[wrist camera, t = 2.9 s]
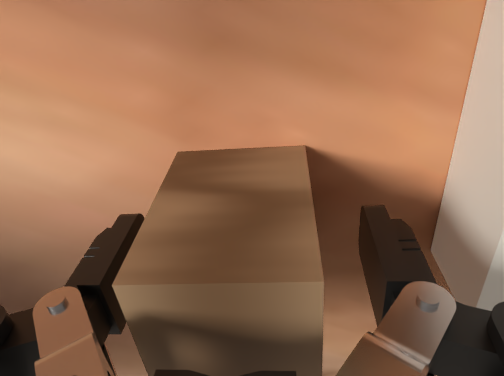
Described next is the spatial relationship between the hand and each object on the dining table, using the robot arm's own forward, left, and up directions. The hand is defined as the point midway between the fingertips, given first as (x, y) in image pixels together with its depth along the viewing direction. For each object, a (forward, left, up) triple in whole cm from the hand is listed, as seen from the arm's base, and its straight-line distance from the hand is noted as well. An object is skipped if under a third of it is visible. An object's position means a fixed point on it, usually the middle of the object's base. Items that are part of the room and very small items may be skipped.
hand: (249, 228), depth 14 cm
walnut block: (0, 0, -2) cm, 2 cm away
